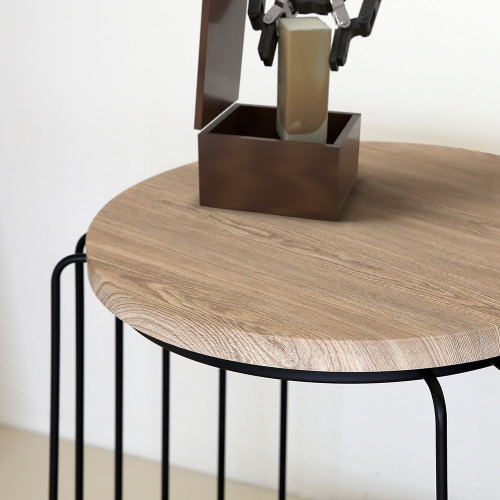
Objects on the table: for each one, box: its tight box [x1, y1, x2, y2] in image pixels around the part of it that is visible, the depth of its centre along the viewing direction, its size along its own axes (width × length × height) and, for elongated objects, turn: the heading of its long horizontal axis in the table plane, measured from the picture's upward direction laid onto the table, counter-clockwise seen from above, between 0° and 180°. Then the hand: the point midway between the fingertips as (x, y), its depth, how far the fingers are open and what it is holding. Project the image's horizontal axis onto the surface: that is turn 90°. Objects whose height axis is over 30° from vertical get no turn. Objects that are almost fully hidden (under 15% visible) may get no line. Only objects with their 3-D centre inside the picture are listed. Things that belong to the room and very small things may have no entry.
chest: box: [197, 102, 362, 222], centre depth 86 cm, size 15×13×8 cm
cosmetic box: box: [276, 16, 333, 144], centre depth 82 cm, size 6×4×12 cm
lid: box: [193, 0, 248, 131], centre depth 83 cm, size 15×13×5 cm
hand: (299, 64), depth 80 cm, fingers closed on cosmetic box, 6 cm apart
